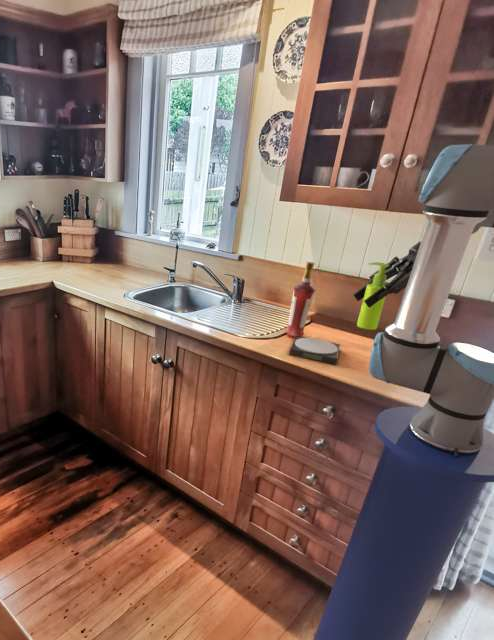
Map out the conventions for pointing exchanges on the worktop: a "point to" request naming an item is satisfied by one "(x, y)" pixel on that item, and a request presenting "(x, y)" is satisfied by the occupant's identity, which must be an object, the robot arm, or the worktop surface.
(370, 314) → the soap dispenser
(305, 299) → the liquor
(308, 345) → the kitchen scale
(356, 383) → the worktop surface
